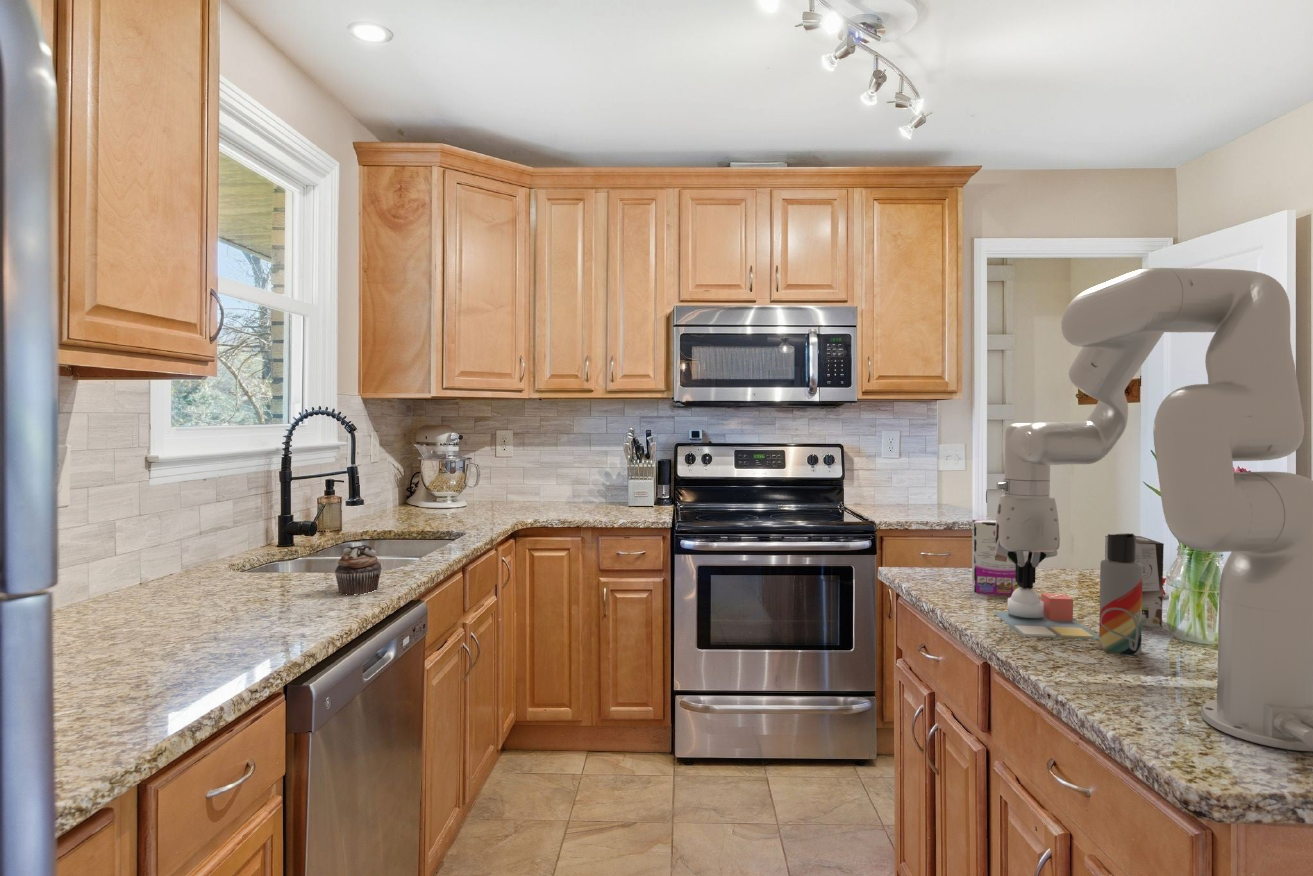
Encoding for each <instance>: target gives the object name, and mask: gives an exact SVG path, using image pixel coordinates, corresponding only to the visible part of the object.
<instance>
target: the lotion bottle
mask: <svg viewBox="0 0 1313 876" xmlns="http://www.w3.org/2000/svg"><path fill="white" fill-rule="evenodd" d="M1107 536H1108V547H1107V559H1108V560H1105V559H1103V560H1101V561H1100V567H1099V575H1100V576H1099V577H1100V578H1099V619H1098V620H1099V627H1098V628H1099V629H1098V630H1099V631H1098V632H1099V633H1098V635H1099V639H1098V647H1099V649H1102V650H1104V651H1106V652H1108V653H1113V654H1119V655H1123V656H1124V655H1126V656H1127V655H1129V656H1134V655H1135V656H1136V655H1140V654H1141V653H1142V635H1143V634H1142V631H1143V630H1142V627H1143V626H1142V578H1143V567H1142V564H1140V563H1137V562H1135V561H1136V536H1137V535H1136V534H1134V533H1127V532H1126V533H1125V532H1124V533H1115V534H1113V533H1112V534H1110V533H1109V534H1107Z"/></svg>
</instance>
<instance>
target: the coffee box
mask: <svg viewBox="0 0 1313 876" xmlns="http://www.w3.org/2000/svg"><path fill="white" fill-rule="evenodd" d="M1135 536H1136V561H1135V562H1137V563H1140V564H1142V567H1143V578H1142V627H1153V628H1155V627H1157V628H1158V627H1159V628H1162V627H1163V596H1162V594H1163V589H1164V585H1163V578H1164V547H1165V546H1164V545H1165V543H1164V542H1163V543H1162V542H1160V541H1157V540H1153V539H1150V538H1147V537H1143V536H1139V535H1135ZM1104 538H1105V540H1104V541H1105V542H1104V549H1105V550H1104V555H1105V556H1104V560H1108V559H1107V547H1108V535H1105V536H1104ZM1163 595H1164V594H1163Z"/></svg>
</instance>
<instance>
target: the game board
mask: <svg viewBox="0 0 1313 876" xmlns="http://www.w3.org/2000/svg"><path fill="white" fill-rule="evenodd" d="M1040 600H1041V601H1043V602H1044V616H1043V617H1040V618H1025V617H1019V616H1015V615H1011V614H1009V613H1008V611H997V610H996V611H991V613H993V614H994V615H996V616H997V617H998V618H999V619H1000V620H1002V622H1005V624H1007V626H1009V627H1010V628H1012V630H1013V631H1015V632H1016V633H1018V634H1019V635H1020V636H1021V637H1029V638H1030V637H1031V638H1051V639H1053V638H1054V639H1055V638H1056V639H1074V640H1075V639H1076V640H1077V639H1078V640H1079V639H1080V640H1082V639H1083V640H1099V634H1097V633H1095V632H1094V631H1092V630H1090V629H1089V628H1087V627H1086V626H1085V625H1083V624H1082V623H1079V622H1078V621H1076V620H1075V619H1074V599H1073V598H1072V597H1070V596H1068V595H1067V594H1064V593H1048V592H1047V593H1045V592H1044V593H1042V592H1041V596H1040ZM1050 627H1072V628H1082V629H1083V630H1085V631H1086V632H1088V633H1089V634H1091V635H1093V636H1094V638H1078V637H1062V636H1060V635H1059V634H1057V633H1056V632H1055V631H1053V630H1052V629H1050Z"/></svg>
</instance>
